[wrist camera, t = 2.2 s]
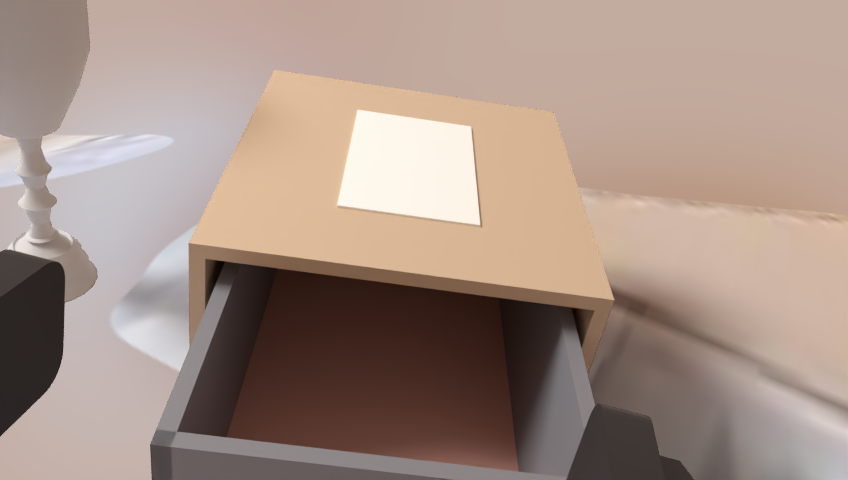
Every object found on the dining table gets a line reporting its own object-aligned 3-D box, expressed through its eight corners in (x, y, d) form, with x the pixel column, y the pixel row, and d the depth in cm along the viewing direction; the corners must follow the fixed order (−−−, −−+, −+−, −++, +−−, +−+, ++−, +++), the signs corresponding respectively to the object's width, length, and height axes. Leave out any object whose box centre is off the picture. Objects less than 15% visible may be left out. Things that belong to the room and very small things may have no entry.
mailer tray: (551, 651, 28) (617, 498, 24) (158, 612, 27) (150, 444, 23) (500, 254, 50) (529, 136, 46) (282, 224, 49) (290, 100, 45)
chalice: (79, 229, 47) (49, -87, 37) (142, 284, 43) (126, -49, 34) (-52, 271, 42) (-126, -82, 32) (8, 336, 38) (-55, -37, 29)
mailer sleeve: (545, 492, 35) (615, 298, 30) (190, 450, 34) (188, 240, 28) (512, 268, 51) (554, 110, 45) (265, 234, 49) (274, 68, 44)
